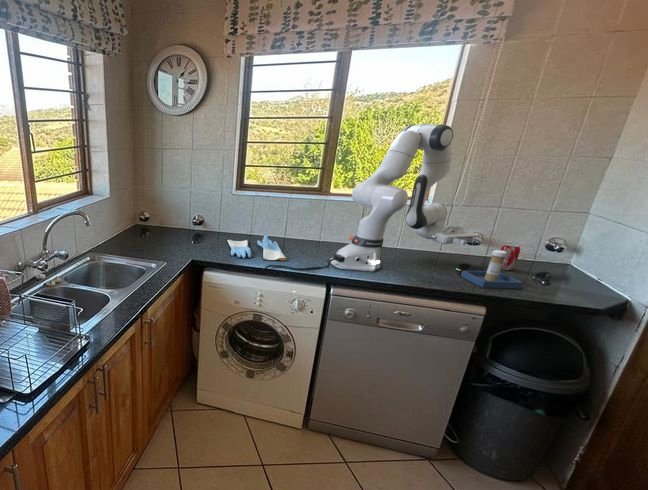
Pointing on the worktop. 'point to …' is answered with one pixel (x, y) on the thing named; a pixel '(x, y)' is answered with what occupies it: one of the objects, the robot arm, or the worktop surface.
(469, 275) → the blue tray
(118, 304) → the worktop surface
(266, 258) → the rubber gloves
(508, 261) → the soda can
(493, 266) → the sprinkles bottle
